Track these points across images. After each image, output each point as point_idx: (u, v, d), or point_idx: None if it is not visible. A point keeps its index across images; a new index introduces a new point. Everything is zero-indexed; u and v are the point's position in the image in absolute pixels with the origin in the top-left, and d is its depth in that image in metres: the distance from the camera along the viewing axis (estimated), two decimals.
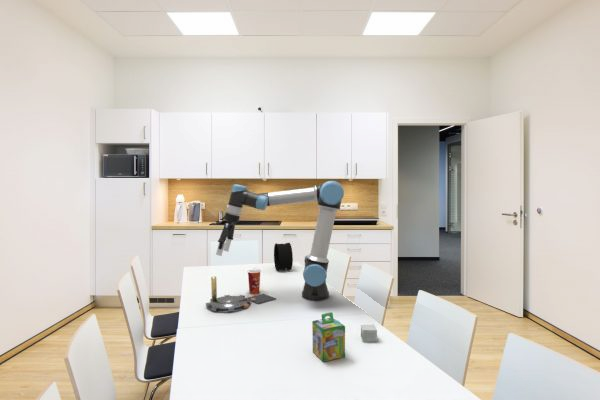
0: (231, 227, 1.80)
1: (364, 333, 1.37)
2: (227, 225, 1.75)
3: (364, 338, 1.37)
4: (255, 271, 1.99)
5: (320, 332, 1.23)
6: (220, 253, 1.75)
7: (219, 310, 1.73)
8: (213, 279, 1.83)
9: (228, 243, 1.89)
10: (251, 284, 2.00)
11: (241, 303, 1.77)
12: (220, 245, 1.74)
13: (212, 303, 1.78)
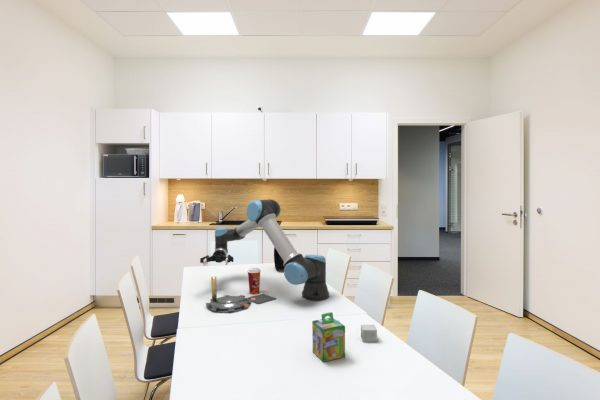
0: (214, 254, 2.05)
1: (364, 333, 1.37)
2: None
3: (364, 338, 1.37)
4: (255, 271, 1.99)
5: (320, 332, 1.23)
6: None
7: (219, 310, 1.73)
8: (213, 279, 1.83)
9: (226, 260, 1.96)
10: (251, 284, 2.00)
11: (241, 303, 1.77)
12: (202, 261, 1.95)
13: (212, 303, 1.78)
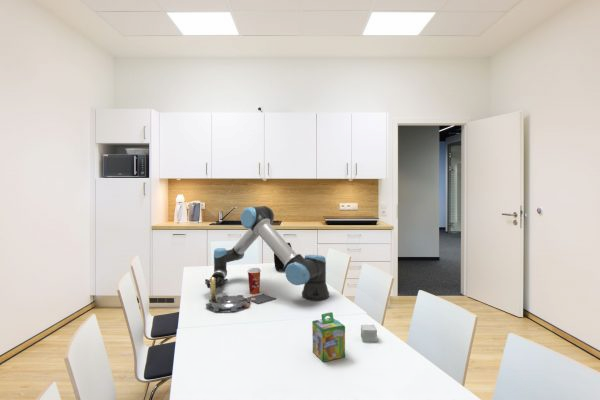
0: None
1: (364, 333, 1.37)
2: (205, 281, 1.99)
3: (364, 338, 1.37)
4: (255, 271, 1.99)
5: (320, 332, 1.23)
6: None
7: None
8: (212, 279, 1.82)
9: None
10: (251, 284, 2.00)
11: (242, 303, 1.78)
12: None
13: (212, 304, 1.77)
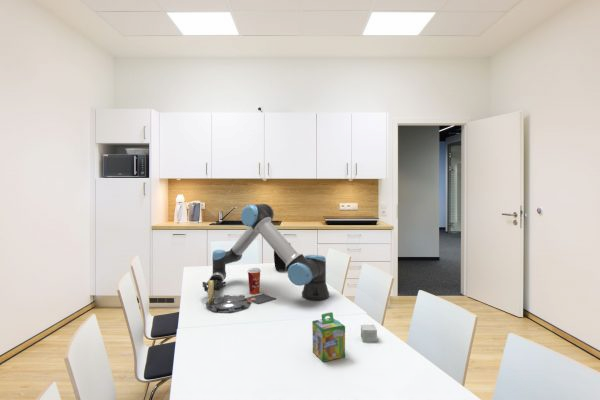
0: None
1: (364, 333, 1.37)
2: None
3: (364, 338, 1.37)
4: (255, 271, 1.99)
5: (320, 332, 1.23)
6: None
7: (219, 310, 1.73)
8: (212, 282, 1.76)
9: None
10: (251, 284, 2.00)
11: (244, 300, 1.83)
12: None
13: (219, 306, 1.74)
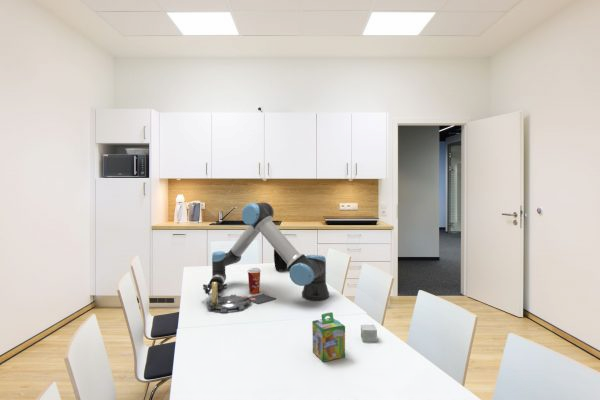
0: (211, 283, 1.90)
1: (364, 333, 1.37)
2: (203, 286, 1.89)
3: (364, 338, 1.37)
4: (255, 271, 1.99)
5: (320, 332, 1.23)
6: None
7: (219, 310, 1.73)
8: (216, 284, 1.74)
9: None
10: (251, 284, 2.00)
11: (242, 298, 1.87)
12: (208, 292, 1.79)
13: (226, 306, 1.73)
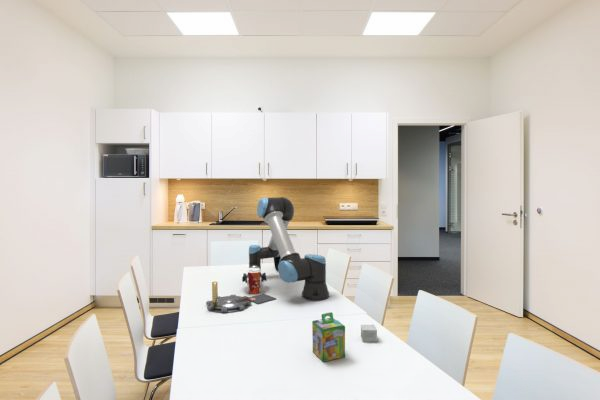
0: None
1: (364, 333, 1.37)
2: (243, 275, 2.12)
3: (364, 338, 1.37)
4: (255, 271, 1.99)
5: (320, 332, 1.23)
6: (247, 280, 1.98)
7: (219, 310, 1.73)
8: None
9: (260, 279, 2.02)
10: (251, 284, 2.00)
11: (242, 297, 1.87)
12: (245, 280, 2.02)
13: (226, 306, 1.73)
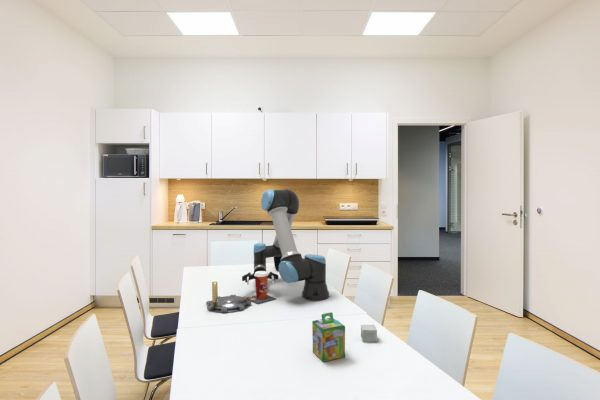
0: None
1: (364, 333, 1.37)
2: (248, 274, 2.04)
3: (364, 338, 1.37)
4: (262, 275, 1.88)
5: (320, 332, 1.23)
6: (247, 280, 1.90)
7: (219, 310, 1.73)
8: None
9: None
10: (258, 288, 1.88)
11: (242, 297, 1.87)
12: (245, 279, 1.93)
13: (226, 306, 1.73)
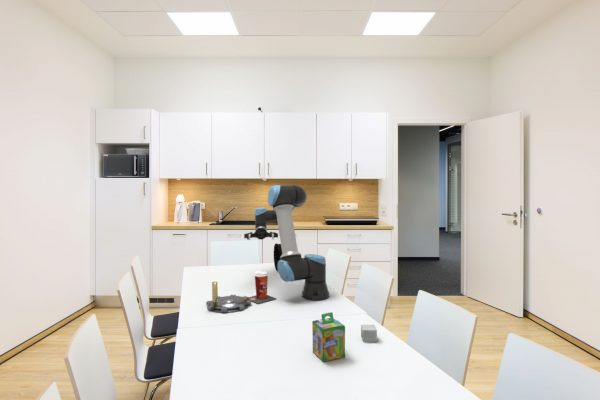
0: (257, 231, 2.17)
1: (364, 333, 1.37)
2: (250, 233, 2.18)
3: (364, 338, 1.37)
4: (262, 275, 1.88)
5: (320, 332, 1.23)
6: (248, 236, 2.03)
7: (219, 310, 1.73)
8: None
9: None
10: (258, 288, 1.88)
11: (242, 297, 1.87)
12: (247, 236, 2.07)
13: (226, 306, 1.73)
